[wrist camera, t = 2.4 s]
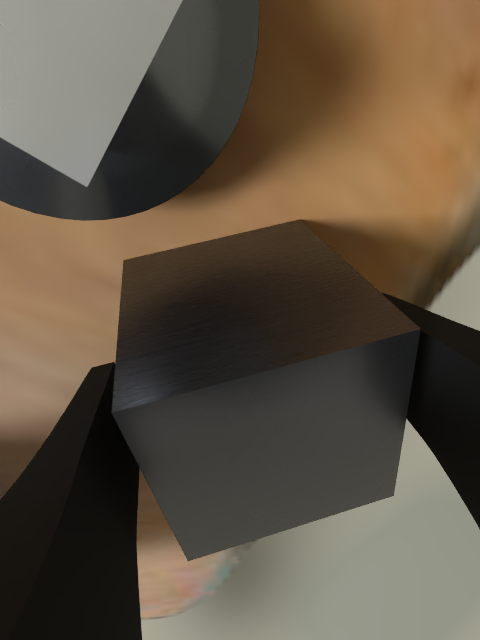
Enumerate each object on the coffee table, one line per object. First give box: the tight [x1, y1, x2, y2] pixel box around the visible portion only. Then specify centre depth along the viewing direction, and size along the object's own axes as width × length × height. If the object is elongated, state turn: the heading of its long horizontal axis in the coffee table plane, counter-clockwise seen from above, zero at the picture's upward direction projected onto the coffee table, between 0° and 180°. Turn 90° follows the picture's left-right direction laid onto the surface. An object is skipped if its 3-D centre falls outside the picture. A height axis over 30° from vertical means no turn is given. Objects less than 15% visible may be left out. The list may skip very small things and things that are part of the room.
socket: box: [112, 220, 421, 561], centre depth 10 cm, size 5×5×6 cm
